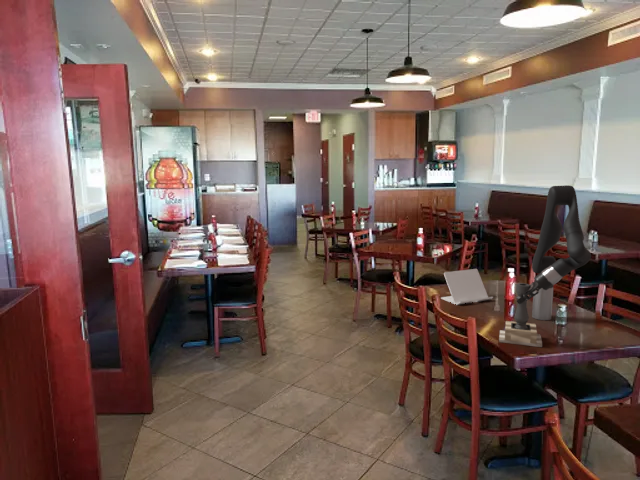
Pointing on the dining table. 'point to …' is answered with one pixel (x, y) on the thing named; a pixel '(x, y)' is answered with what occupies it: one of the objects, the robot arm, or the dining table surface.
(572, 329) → the dining table surface
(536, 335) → the socket
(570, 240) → the robot arm
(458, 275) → the grey laptop
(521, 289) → the candle holder
